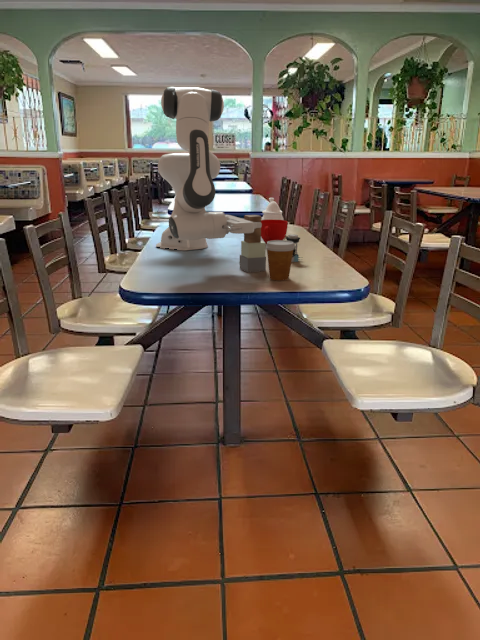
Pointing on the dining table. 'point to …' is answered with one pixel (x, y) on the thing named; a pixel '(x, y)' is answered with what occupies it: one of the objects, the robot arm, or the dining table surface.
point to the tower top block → (253, 249)
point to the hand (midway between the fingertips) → (254, 222)
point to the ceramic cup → (273, 230)
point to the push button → (295, 240)
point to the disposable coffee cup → (279, 259)
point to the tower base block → (252, 264)
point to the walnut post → (256, 235)
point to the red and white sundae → (272, 211)
